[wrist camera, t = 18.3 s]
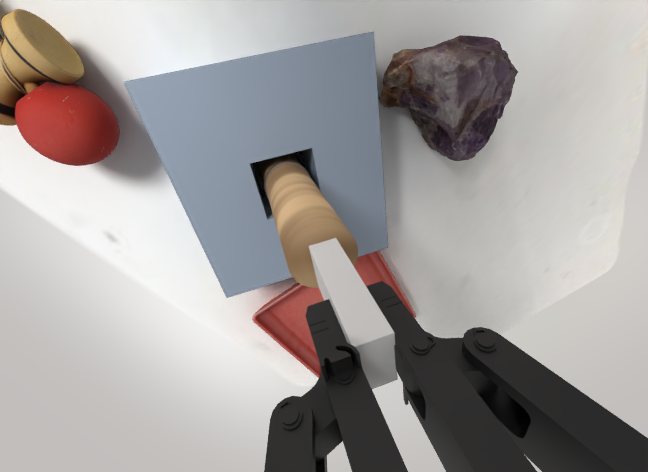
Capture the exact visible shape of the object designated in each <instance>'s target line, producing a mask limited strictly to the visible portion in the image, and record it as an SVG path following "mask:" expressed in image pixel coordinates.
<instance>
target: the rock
mask: <svg viewBox="0 0 648 472" xmlns="http://www.w3.org/2000/svg"><path fill="white" fill-rule="evenodd" d="M517 73H518V71H517V70H516V69H515V67H514V66H513V65H512V63H511V60H509V58H508V54H507V53H506V51H504V50H502V48H501V45H500V43H499V42H498V41H496V40H495V39H493V38H487V37H475V36H461V35H460V36H458V37H456V38H454V39H451V40H448V41H445V42H442V43H440V44H438V45H436V46H433V47H428V48H424V49H406V50H401V51H400V52H398V53H395V54H393V58H392V61H391V62H390V64H389V66H388V68H387V70H386V72H385V74H384V78H383V91H382V94H381V96H380V97H379V100H380V103H381V104H382V105H383V106H384V107H393V106H397V107H409V108H410V110H411V114H412V117H413V120H414V121H415V124H416V125H418V126H419V127H420V128H421V129H422V132H423V135H422V136H423V138H424V139H425V141H426V142H427V143H428V145H429V147H430V148H432V149H434V150H436V151H437V152H439V153H440V154H442V155H443V156H447V157H448V158H449V159H451V160H454V161H461V160H469V159H471V158H473V157H474V156H475V154H476V153H477V152H478V151H480V150H481V149H482V148H483V147H484V146H485V145H486V143H487V142H488V140H489V138H490V136H491V135H492V133H493V131H494V129H495V126H496V123H497V120H498V119H500V118H501V117H502V114H503V110H504V107H505V105H506V104H507V103H508V101H509V99H510V96H511V93H512V88H513V84H514V82H515V76H516V74H517Z"/></svg>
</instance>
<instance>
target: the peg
mask: <svg viewBox="0 0 648 472" xmlns="http://www.w3.org/2000/svg"><path fill="white" fill-rule="evenodd" d="M260 171H261V174H262V178H263V181H264V189H265V193H266V195H267V197H268V199H269V202H270V206H271V209H272V213H273V217H274V220H275V224H276V227H277V231H278V234H279V238H280V241H281V245H282V248H283V252H284V255H285V259H286V262H287V266H288V269H289V272H290V274H291V276H292V277H293V278H294V279H295V280H296V281H297V282H298V283H300V284H302V285H304V286H307V287H311V288H319V286H318V283H317V279H316V275H315V271H314V267H313V262H312V258H311V254H310V250H309V246H310V245H314V244H317V243H320V242H324V241H327V240H330V239H334V238H336V239H337V240H338V242H339V243H340V245H341V247H342V248H343V250H344V252H345V253H346V255H347V256H348V258H349V260H350V261H351V263H352V265H353V266H355V264H356V261H357V257H358V246H357V243H356V241H355V239H354V237H353V236H352V234H351V233H350V232H349V230H348V229H347V228H346V226H345V225H344V223H343V222H342V221H341V219H340V218H339V216H338V215H337V214H336V212H335V211H334V209H333V208H332V207H331V205H330V204H329V203H328V201H327V200H326V198H325V197H324V196H323V194H322V193H321V191H320V190H319V189H318V187H317V186H316V184H315V183H314V182H313V180H312V179H311V177H310V175H309V173H308V171H307V170H306V169H305V168H304V167H303V166H302V165H301V164H300V162H299V161H298V159H297V158H296V157H295V155H294V154H293V153H290V154H286V155H282V156H278V157H274V158H270V159H266V160H262V161H260Z"/></svg>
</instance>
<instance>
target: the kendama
mask: <svg viewBox="0 0 648 472" xmlns="http://www.w3.org/2000/svg"><path fill="white" fill-rule="evenodd" d="M1 24H2V29H3V33H4V39H3V38H2V36H1V35H0V124H1V125H16V124H17V126H18V129H19V131H20V133H21V135H22V136H23V138H24V139H25V140H26V142H27V143H28V144H29V145H30V146H31V147H32V148H33V149H35V150H36V151H37V152H39V153H40V154H42V155H43V156H45V157H47V158H49V159H51V160H53V161H56V162H59V163H63V164H67V165H74V166H81V165H88V164H93V163H96V162H99V161H101V160H103V159H104V158H106V157H107V156H108V155H109V154H111V152H112V151H113V150H114V149H115V147H116V145H117V142H118V139H119V126H118V122H117V119H116V117H115V115H114V113H113V112H112V110H111V109H110V108H109V106H108V105H107V104H106V103H105V102H104V101H103V100H102V99H101V98H100V97H99V96H97V95H96V94H94V93H93V92H91V91H90V90H88V89H85V88H83V87H81V86H78V85H75V82H76V81H77V80H79V79H80V78H81V77H82V76H83V75H84V66H83V63H82V61H81V59H80V57H79V56H78V54H77V52H76V51H75V50H74V48H73V47H72V46H71V45H70V43H69V42H68V41H67V40H66V39H65V38H64V37H63V36H62V35H61V34H60V33H59V32H58V31H57V30H55V29H54V28H53V27H52V26H51V25H50V24H48V23H47V22H45V21H44V20H43V19H41V18H40V17H38V16H36V15H34V14H32V13H30V12H28V11H26V10H21V9H16V10H14V11H12V12H10V13H8V14H6V15H5V16H4V17H3V18H2V21H1Z"/></svg>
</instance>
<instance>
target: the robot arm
mask: <svg viewBox="0 0 648 472" xmlns="http://www.w3.org/2000/svg"><path fill="white" fill-rule="evenodd" d="M309 250H310V254H311V258H312V262H313V267H314V271H315V275H316V279H317V283H318V286H319V289H320V291H321V294H322V296H323V299H324V301H322V302H319V303H316V304H313V305H310V306H308V307H307V311H306V319H307V323H308V326H309V329H310V333H311V336H312V340H313V343H314V346H315V350H316V353H317V356H318V360H319V363H320V367H321V372H320V377H319V380H318V381H317V383H316V384H315V386H314V387H313V388H312V389H311V390H310V391H308V392H307V393H306V394H305V395H303V396H302V397H298V396H291V397H288V398H285V399H284V400H282V401H281V402H280V403H278V404H277V406H276V407H275V409H274V410H273V412H272V416H271V419H270V427H269V435H268V444H267V453H266V462H265V471H264V472H327V454H329V453H330V452H331V451H332V450H333V449H334V448H335V447H336V446H337V445H339V444H340V443H341V442H342V441H343V443H344V446H345V449H346V452H347V456H348V459H349V463H350V466H351V469H352V472H408V471H407V468H406V466H405V464H404V462H403V459H402V457H401V455H400V453H399V450H398V448H397V446H396V444H395V441H394V439H393V437H392V434H391V432H390V430H389V428H388V425H387V423H386V421H385V419H384V416H383V414H382V412H381V409H380V407H379V405H378V403H377V401H376V398H375V396H374V394H373V392H372V389H373V388H376V387H379V386H381V385H384V384H387V383H389V382H392V381H394V380H397V372H398V374H399V376H400V378H401V380H402V382H403V393H404V401H405V404H406V405H407V404H408V400H409V402H410V404H411V406H412V408H413V410H414V412H415V413H416V415H417V417H418V419H419V421H420V423H421V424H422V427H423V428H424V430H425V432H426V434H427V436H428V438H429V440H430V442H431V444H432V445H433V447H434V449H435V451H436V453H437V455H438V457H439V459H440V461H441V462H442V464H443V466H444V468H445V470H446V472H537V471H536V470H535V468H534V467H533V466H532V464H531V463H530V462H529V460H528V459H527V458H526V456H527V457H528V458H529V459H530V460H531V461H532V462H533V463H534V464H535V465H536V466H537V467H538V468H539V469H540V470H541V471H542V472H648V438H647V437H645V436H644V435H642V434H641V433H639V432H638V431H637V430H635V429H634V428H632V427H631V426H629V425H628V424H627V423H625V422H624V421H622V420H621V419H619V418H618V417H617V416H615V415H613V414H612V413H611V412H609V411H608V410H607V409H605V408H604V407H602V406H601V405H599V404H598V403H597V402H595V401H594V400H592V399H591V398H589V397H588V396H587V395H585V394H584V393H582V392H580V391H579V390H578V389H577V388H575V387H574V386H572V385H571V384H569V383H568V382H566V381H565V380H563V379H562V378H561V377H559V376H558V375H557V374H555V373H554V372H552V371H551V370H549V369H548V368H546V367H545V366H544V365H542V364H541V363H539V362H538V361H537V360H535V359H534V358H532V357H531V356H529V355H528V354H526V353H525V352H524V351H522V350H521V349H519V348H518V347H517V346H515V345H514V344H512V343H511V342H509V341H508V340H507V339H505V338H504V337H502V336H501V335H499V334H498V333H496V332H494V331H492V330H490V329H487V328H482V327H478V328H472V329H470V330H468V331H467V332H466V333H465V334H464V338H448V339H446V338H438V337H434V336H433V335H432V334H430V333H427V332H425V331H424V330H423V329H422V328H421V327H420V325H419V324H418V323H417V321H416V320H415V318H414V317H413V316H412V314H411V313H410V312H409V310H408V309H407V307H406V306H405V305H404V303H402V301H401V299H400V298H399V297H398V296H397V294H396V292H395V291H394V290H393V288H392V287H391V286H389V285H388V284H386V283H384V282H383V281H380V282H377V283H374V284H371V285H368V286H365V284H364V282H363V281H362V279H361V278H360V276H359V274H358V273H357V271H356V269H355V268H354V266H353V265H352V263H351V261H350V260H349V258H348V256H347V255H346V253H345V252H344V250H343V248H342V247H341V245H340V243H339V242H338V240H337V239H336V238H334V239H330V240H327V241H324V242H320V243H317V244H314V245H310V246H309ZM524 454H525V455H526V456H525V455H524Z"/></svg>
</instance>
